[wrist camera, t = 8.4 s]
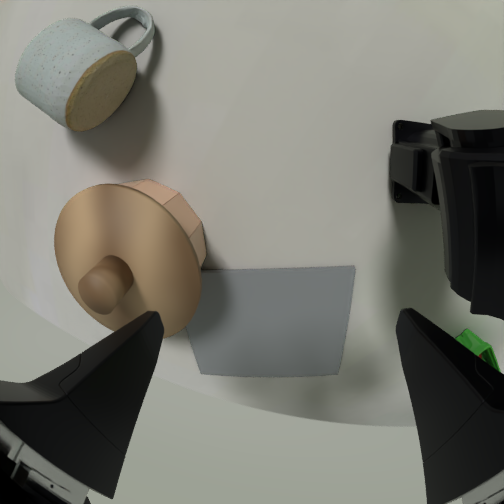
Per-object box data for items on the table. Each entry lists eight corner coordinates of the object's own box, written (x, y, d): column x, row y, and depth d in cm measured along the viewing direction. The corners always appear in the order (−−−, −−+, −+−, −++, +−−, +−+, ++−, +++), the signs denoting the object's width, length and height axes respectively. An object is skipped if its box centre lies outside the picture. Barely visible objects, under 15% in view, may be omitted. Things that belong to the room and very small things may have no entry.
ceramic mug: (110, 135, 19) (48, 145, 12) (59, 96, 17) (0, 99, 10) (184, 30, 15) (141, -7, 8) (120, 2, 13) (70, -26, 6)
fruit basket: (488, 350, 26) (517, 404, 16) (444, 386, 29) (465, 443, 19) (471, 316, 24) (513, 383, 13) (417, 361, 27) (444, 434, 17)
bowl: (194, 172, 20) (170, 187, 16) (213, 293, 25) (200, 329, 20) (86, 190, 21) (52, 207, 17) (115, 291, 26) (92, 320, 22)
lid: (184, 170, 15) (159, 183, 12) (215, 340, 21) (205, 374, 17) (42, 198, 17) (12, 213, 13) (89, 327, 22) (71, 352, 19)
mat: (354, 265, 22) (355, 268, 22) (337, 371, 28) (337, 374, 28) (172, 270, 24) (171, 273, 24) (201, 370, 30) (200, 374, 30)
